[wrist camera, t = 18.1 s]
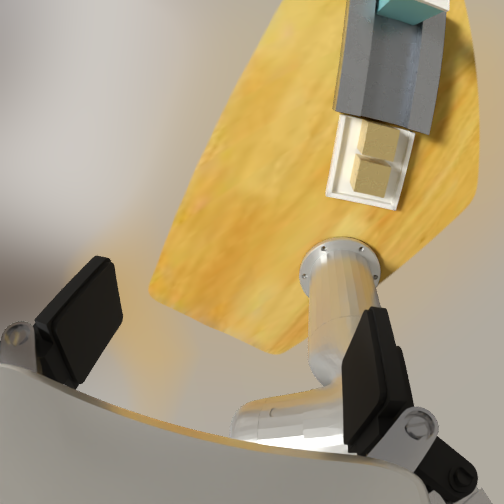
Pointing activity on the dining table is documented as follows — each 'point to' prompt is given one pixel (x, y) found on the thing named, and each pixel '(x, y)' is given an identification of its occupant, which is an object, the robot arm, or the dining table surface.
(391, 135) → the gold cube
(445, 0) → the teal rectangular block
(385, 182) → the chip
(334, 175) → the tray
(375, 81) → the slot board
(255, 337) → the dining table surface
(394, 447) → the robot arm
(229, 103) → the dining table surface
